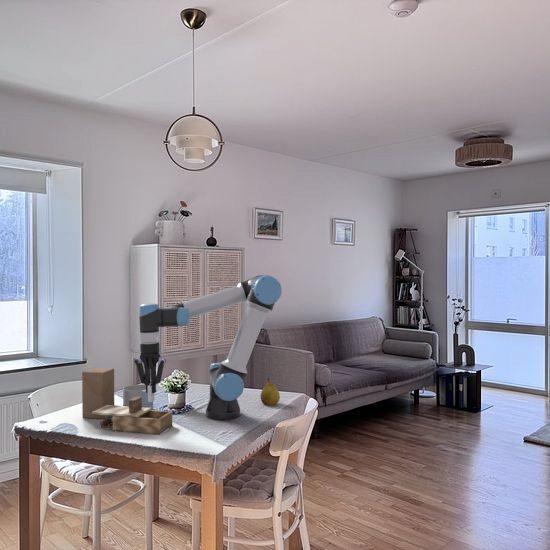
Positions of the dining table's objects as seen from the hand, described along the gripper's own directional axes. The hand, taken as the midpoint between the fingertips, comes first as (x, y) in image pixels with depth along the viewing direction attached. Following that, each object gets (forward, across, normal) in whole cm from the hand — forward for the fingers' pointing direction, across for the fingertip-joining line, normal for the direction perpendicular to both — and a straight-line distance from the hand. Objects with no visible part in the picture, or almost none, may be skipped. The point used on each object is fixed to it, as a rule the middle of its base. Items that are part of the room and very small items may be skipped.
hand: (151, 401), depth 210 cm
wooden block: (+11, +32, -13) cm, 36 cm away
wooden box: (+11, +4, 0) cm, 12 cm away
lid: (+5, +13, 0) cm, 14 cm away
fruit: (+13, -37, -48) cm, 62 cm away
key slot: (+11, +17, 0) cm, 20 cm away
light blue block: (+11, +9, -14) cm, 20 cm away
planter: (+12, +19, -24) cm, 32 cm away
